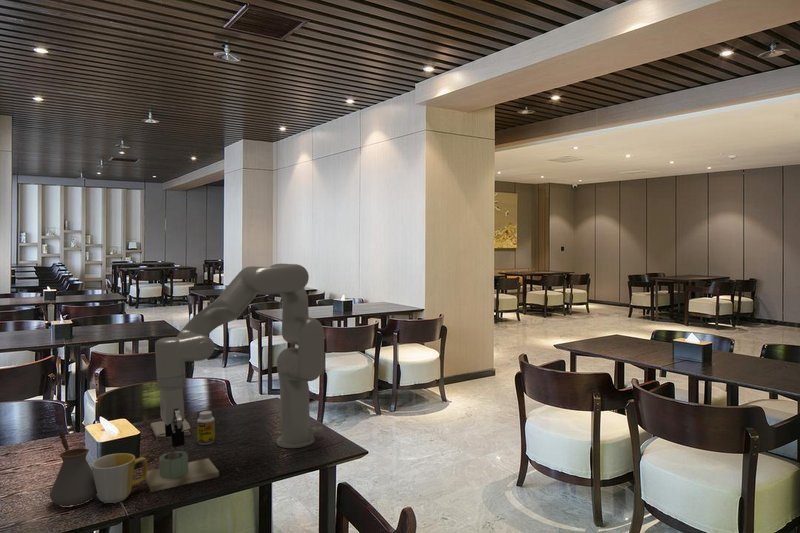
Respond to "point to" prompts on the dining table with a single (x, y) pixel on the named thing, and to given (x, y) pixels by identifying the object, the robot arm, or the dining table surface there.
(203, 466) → the post board
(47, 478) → the dining table surface
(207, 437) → the supplement bottle
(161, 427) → the washcloth
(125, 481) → the mug
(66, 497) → the coffee pot
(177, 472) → the collar
